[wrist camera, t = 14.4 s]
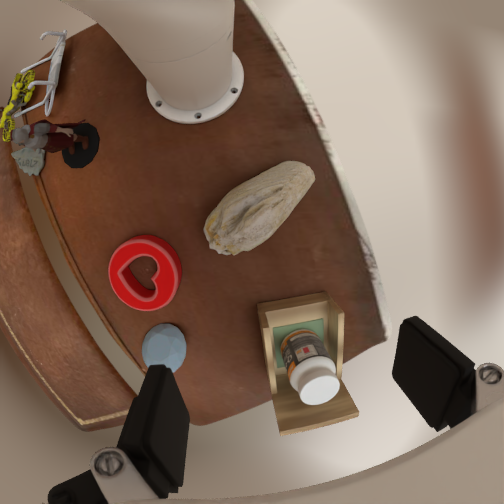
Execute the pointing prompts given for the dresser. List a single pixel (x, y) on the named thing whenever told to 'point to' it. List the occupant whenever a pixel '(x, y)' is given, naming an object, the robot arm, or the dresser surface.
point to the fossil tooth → (257, 208)
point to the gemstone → (164, 346)
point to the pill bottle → (309, 367)
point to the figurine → (60, 140)
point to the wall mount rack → (53, 73)
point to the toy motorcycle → (16, 101)
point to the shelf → (283, 394)
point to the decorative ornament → (163, 278)
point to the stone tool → (29, 160)
